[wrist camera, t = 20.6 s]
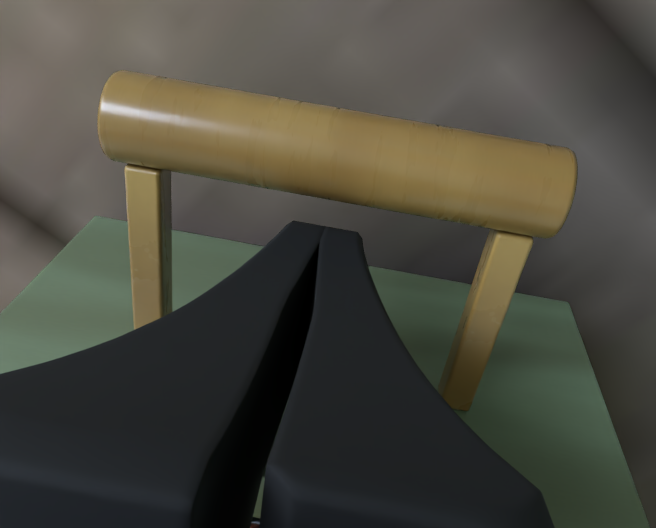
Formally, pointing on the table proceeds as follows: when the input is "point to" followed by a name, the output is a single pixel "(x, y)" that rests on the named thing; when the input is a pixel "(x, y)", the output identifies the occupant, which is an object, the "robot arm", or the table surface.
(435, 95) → the table surface
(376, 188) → the drawer
